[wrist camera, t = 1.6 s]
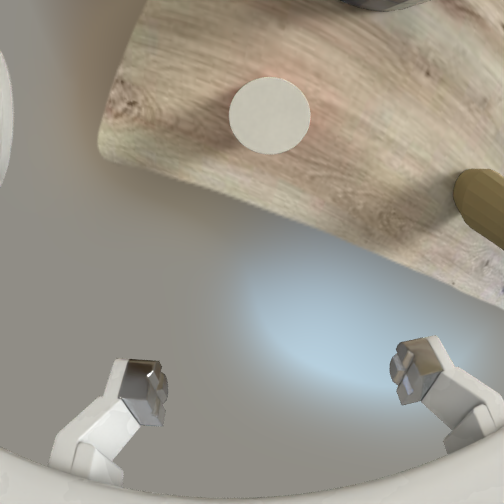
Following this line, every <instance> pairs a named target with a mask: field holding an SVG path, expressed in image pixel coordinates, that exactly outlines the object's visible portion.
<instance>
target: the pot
mask: <svg viewBox="0 0 504 504" xmlns="http://www.w3.org/2000/svg"><path fill="white" fill-rule="evenodd" d="M340 1H342V2H345V3H347V4H350V5H353V6H356V7H359V8H363V9H367V10H374V11H395V10H402V9H405V8H408V7H411V6H414V5H418V4H421V3H424V2H427V1H431V0H340Z"/></svg>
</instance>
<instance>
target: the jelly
mask: <svg viewBox="0 0 504 504" xmlns="http://www.w3.org/2000/svg"><path fill="white" fill-rule="evenodd" d="M229 122H230V126H231V129H232V132H233V133H234V135H235V137H236V138H237V139H238V141H239V142H240V143H241V144H242V145H244V146H245V147H246V148H248V149H250V150H252V151H254V152H257V153H261V154H270V155H271V154H279V153H283V152H286V151H288V150H290V149H292V148H293V147H295V146H296V145H297V144H298V143H299V142H300V141H301V140H302V139H303V137H304V136H305V134H306V132H307V130H308V127H309V124H310V108H309V105H308V102H307V100H306V98H305V96H304V95H303V93H302V92H301V91H300V90H299V89H298V88H297V87H296V86H295V85H293V84H292V83H290V82H288V81H286V80H284V79H280V78H275V77H263V78H258V79H255V80H253V81H251V82H249V83H247V84H246V85H244V86H243V87H242V88H241V89H240V90H239V91H238V92H237V93H236V95H235V96H234V98H233V100H232V102H231V105H230V109H229Z"/></svg>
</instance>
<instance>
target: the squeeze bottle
mask: <svg viewBox="0 0 504 504" xmlns="http://www.w3.org/2000/svg"><path fill="white" fill-rule="evenodd" d="M453 198H454V201H455V204H456V206H457V208H458V210H459V212H460V213H461V215H462V217H463V219H464V221H465V223H466V224H467V225H468V226H469V227H470V228H472V229H473V230H475V231H476V232H478V233H479V234H481V235H482V236H484V237H485V238H487V239H488V240H490V241H491V242H493V243H494V244H495V245H497V246H498V247H500V248H501V249H503V250H504V177H503V176H502V175H500V174H499V173H497V172H496V171H493V170H491V169H468V170H465V171H464V172H463V173H462V174H460V176H459V178H458V179H457V181H456V183H455V187H454V192H453Z"/></svg>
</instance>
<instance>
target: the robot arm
mask: <svg viewBox="0 0 504 504" xmlns="http://www.w3.org/2000/svg"><path fill="white" fill-rule="evenodd" d="M396 351H397V354H396V355H395V356H394V357H392V359H391V362H390V375H391V378H392V381H393V382H394V383H396V384H397V385H398V388H397V394H398V396H399V399H400V401H401V404H402V405H406V404H410V403H414V402H418V401H421V402H422V403H423V404H424V405H425V406H426V407H427V408H428V409H430V410H431V411H432V412H433V413H434V414H435V415H436V416H437V417H438V418H439V419H441V420H442V421H443V422H444V423H445V424H446V425H447V426H448V427H449V428H450V429H451V430H452V431H451V432H450V433H449V434H448V435H447V436H446V437H445V439H444V441H443V442H444V445H445V448H446V451H447V454H448V455H446V456H443V457H441V458H438V459H436V460H433V461H431V462H428V463H425V464H423V465H420V466H417V467H414V468H412V469H409V470H405V471H402V472H400V473H396V474H393V475H389V476H386V477H382V478H379V479H375V480H371V481H367V482H364V483H359V484H355V485H350V486H345V487H340V488H335V489H330V490H324V491H318V492H311V493H303V494H295V495H285V496H274V497H257V498H205V497H189V496H177V495H168V494H159V493H152V492H145V491H139V490H133V489H128V488H123V487H122V483H123V476H124V472H123V470H122V469H121V468H119V466H117V465H116V464H115V463H113V462H112V460H113V459H114V458H115V457H116V455H117V454H118V453H119V452H120V451H121V449H122V448H123V447H124V446H125V444H126V443H127V442H128V441H129V440H130V438H131V437H132V436H133V435H134V434H135V432H136V431H137V430H138V429H139V428H140V425H148V426H163V424H164V417H165V409H164V407H163V405H162V404H163V403H164V402H165V401H166V400H167V397H168V382H167V378H166V376H165V374H163V373H162V372H161V369H162V366H161V364H160V362H159V361H151V360H136V359H123V358H117V359H116V360H115V361H114V363H113V366H112V369H111V372H110V375H109V378H108V381H107V385H106V388H105V391H104V394H103V397H102V396H99V397H98V398H97V399H96V400H94V401H93V403H91V404H90V405H89V406H88V407H87V408H86V409H84V411H82V412H81V413H80V414H79V415H78V416H77V417H76V418H75V419H73V420H72V421H71V422H70V423H69V424H68V425H67V426H66V427H64V428H63V429H62V430H61V431H60V432H59V433H58V434H57V435H56V438H55V441H54V445H53V448H52V452H51V455H50V459H49V463H48V466H45V465H42V464H39V463H37V462H34V461H32V460H29V459H27V458H25V457H22V456H20V455H17V454H15V453H13V452H11V451H8V450H6V449H4V448H2V447H0V504H504V401H503V399H502V397H501V395H500V394H499V393H497V392H496V391H494V390H493V389H491V388H490V387H488V386H487V385H485V384H483V383H482V382H480V381H479V380H477V379H476V378H474V377H473V376H471V375H470V374H468V373H467V372H465V371H464V370H462V369H461V368H459V367H456V368H455V366H454V365H453V363H452V361H451V359H450V357H449V355H448V354H447V352H446V350H445V348H444V347H443V345H442V343H441V341H440V340H439V338H438V337H437V336H436V335H435V336H430V337H425V338H419V339H414V340H409V341H405V342H401V343H399V344H398V346H397V348H396Z"/></svg>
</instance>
